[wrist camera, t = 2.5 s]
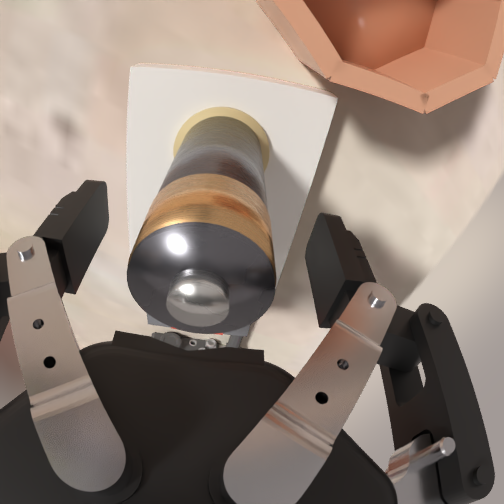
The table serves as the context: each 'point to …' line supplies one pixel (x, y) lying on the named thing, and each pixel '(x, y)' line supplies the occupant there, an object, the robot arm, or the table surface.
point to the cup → (396, 45)
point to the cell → (208, 235)
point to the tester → (231, 105)
